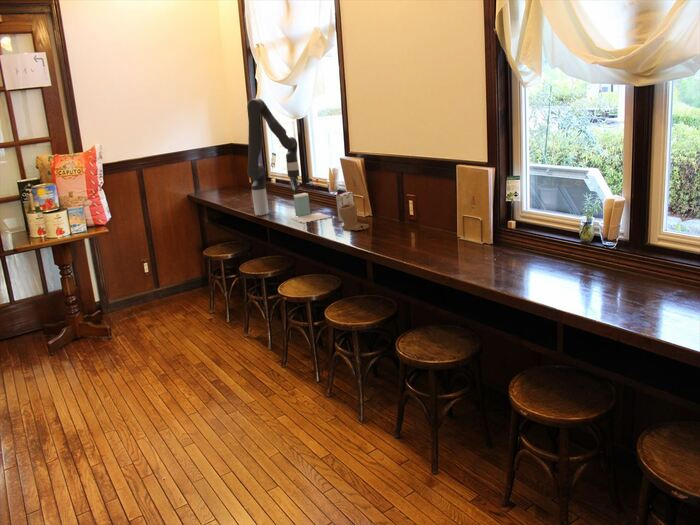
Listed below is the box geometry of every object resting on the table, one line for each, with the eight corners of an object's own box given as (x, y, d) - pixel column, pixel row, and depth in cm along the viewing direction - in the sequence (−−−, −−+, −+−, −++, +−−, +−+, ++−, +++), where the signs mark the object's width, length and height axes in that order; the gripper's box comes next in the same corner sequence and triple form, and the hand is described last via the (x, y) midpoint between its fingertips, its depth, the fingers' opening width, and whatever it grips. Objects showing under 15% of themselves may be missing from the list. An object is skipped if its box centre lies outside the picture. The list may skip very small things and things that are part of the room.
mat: (291, 219, 394) (291, 218, 394) (318, 213, 404) (318, 212, 403) (303, 223, 380) (302, 222, 380) (331, 217, 389) (331, 216, 389)
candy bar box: (349, 217, 385) (346, 191, 380) (355, 218, 382) (353, 191, 377) (338, 221, 376) (335, 195, 372) (344, 222, 373) (342, 195, 369)
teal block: (295, 216, 402) (293, 195, 398) (306, 214, 405) (304, 192, 401) (299, 217, 397) (296, 195, 393) (310, 215, 401) (308, 193, 397)
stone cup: (336, 230, 356) (333, 205, 351) (350, 226, 364) (348, 200, 359) (355, 233, 345) (353, 207, 341) (369, 228, 353) (367, 203, 349)
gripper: (283, 169, 403) (286, 195, 408) (292, 170, 392) (295, 197, 397) (293, 167, 406) (296, 193, 411) (302, 168, 395) (305, 195, 400)
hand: (296, 195), depth 404 cm, fingers closed
